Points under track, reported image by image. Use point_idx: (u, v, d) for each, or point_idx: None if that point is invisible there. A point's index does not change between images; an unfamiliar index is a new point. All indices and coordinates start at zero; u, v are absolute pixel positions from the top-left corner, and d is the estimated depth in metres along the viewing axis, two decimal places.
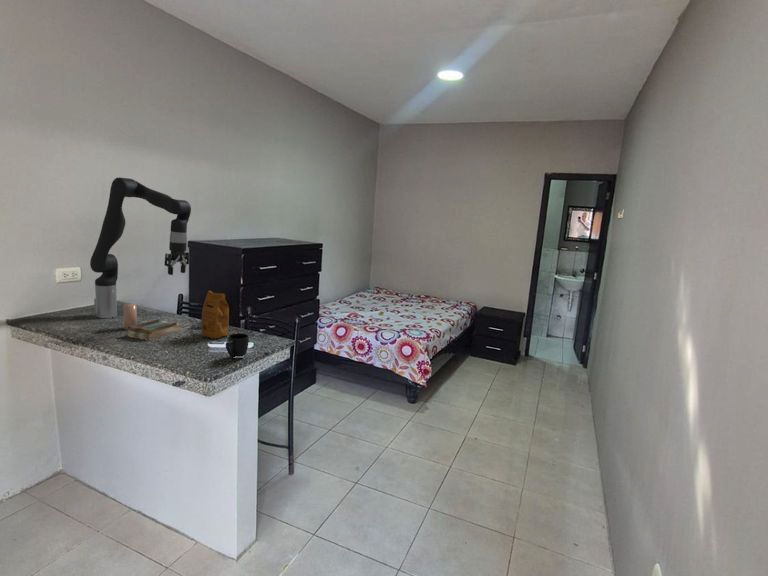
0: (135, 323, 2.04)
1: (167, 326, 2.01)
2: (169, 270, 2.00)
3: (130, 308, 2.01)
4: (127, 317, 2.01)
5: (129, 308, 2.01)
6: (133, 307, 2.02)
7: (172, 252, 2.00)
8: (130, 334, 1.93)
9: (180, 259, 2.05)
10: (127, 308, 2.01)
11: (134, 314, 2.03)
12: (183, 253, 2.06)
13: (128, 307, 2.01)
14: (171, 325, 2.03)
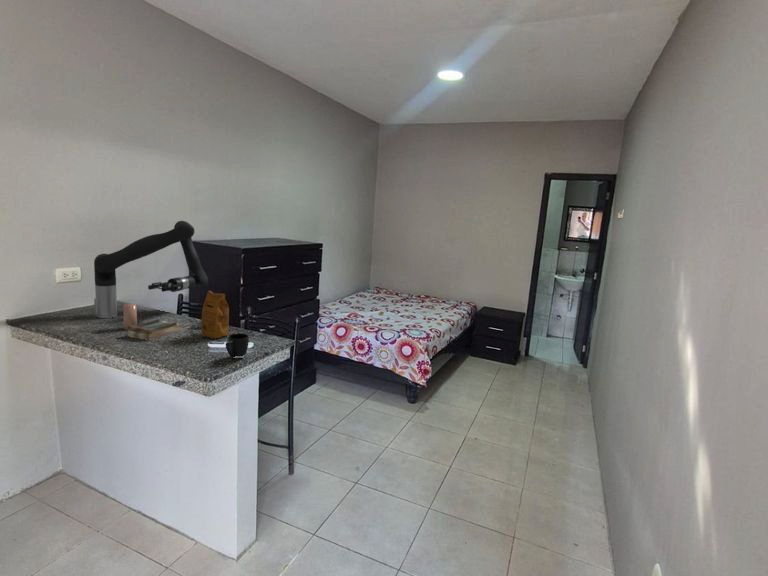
0: (135, 323, 2.04)
1: (167, 326, 2.01)
2: (167, 289, 2.18)
3: (130, 308, 2.01)
4: (127, 317, 2.01)
5: (129, 308, 2.01)
6: (133, 307, 2.02)
7: None
8: (130, 334, 1.93)
9: None
10: (127, 308, 2.01)
11: (134, 314, 2.03)
12: None
13: (128, 307, 2.01)
14: (171, 325, 2.03)
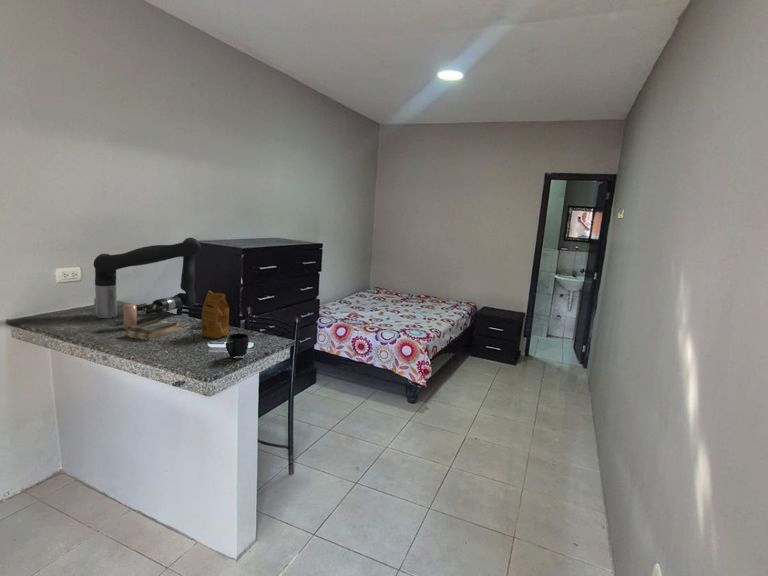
0: (135, 323, 2.04)
1: (167, 326, 2.01)
2: (151, 312, 2.10)
3: (130, 308, 2.01)
4: (127, 317, 2.01)
5: (129, 308, 2.01)
6: (133, 307, 2.02)
7: None
8: (130, 334, 1.93)
9: None
10: (127, 308, 2.01)
11: (134, 314, 2.03)
12: None
13: (128, 307, 2.01)
14: (171, 325, 2.03)
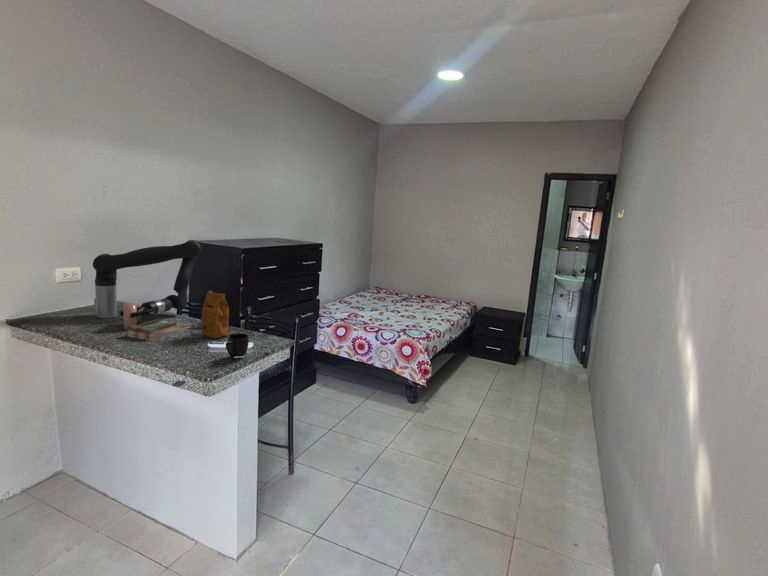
0: (135, 323, 2.04)
1: (167, 326, 2.01)
2: (136, 315, 2.02)
3: (130, 308, 2.01)
4: (127, 317, 2.01)
5: (129, 308, 2.01)
6: (133, 307, 2.02)
7: None
8: (130, 334, 1.93)
9: None
10: (127, 308, 2.01)
11: None
12: None
13: (128, 307, 2.01)
14: (171, 325, 2.03)
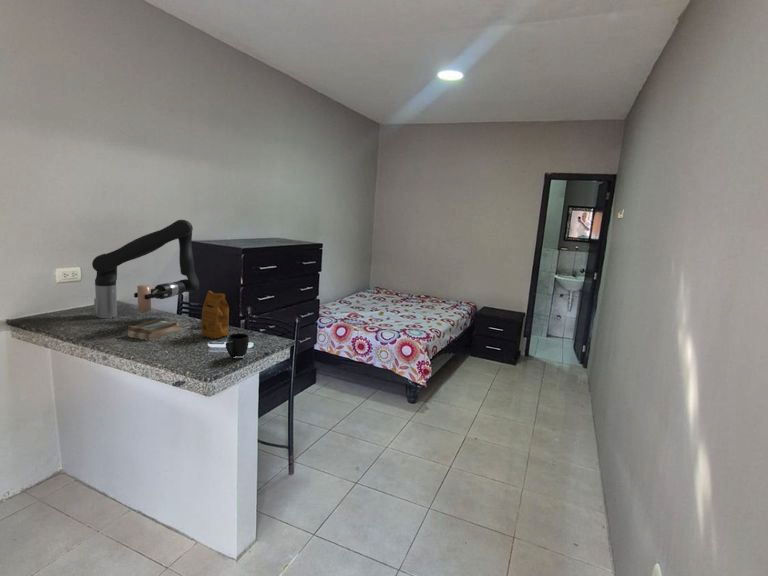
0: (149, 305, 2.01)
1: (167, 326, 2.01)
2: (150, 297, 1.99)
3: (144, 289, 1.98)
4: (141, 298, 1.98)
5: (143, 289, 1.97)
6: (147, 288, 1.98)
7: None
8: (130, 334, 1.93)
9: None
10: (141, 289, 1.97)
11: None
12: None
13: (142, 288, 1.97)
14: (171, 325, 2.03)
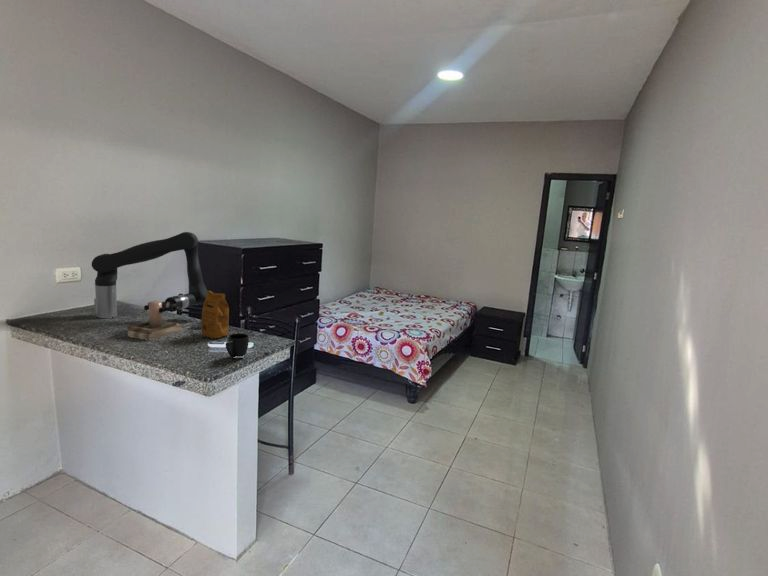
0: (160, 321, 2.00)
1: (167, 326, 2.01)
2: (164, 310, 1.98)
3: (156, 306, 1.97)
4: (153, 314, 1.97)
5: (155, 306, 1.97)
6: (159, 305, 1.98)
7: None
8: (130, 334, 1.93)
9: None
10: (153, 305, 1.96)
11: None
12: None
13: (154, 304, 1.96)
14: (171, 325, 2.03)
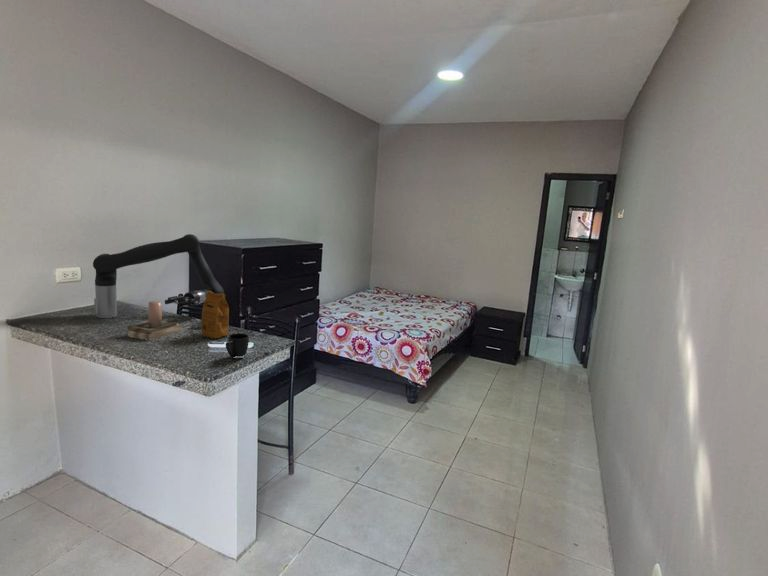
0: (160, 321, 2.00)
1: (167, 326, 2.01)
2: (184, 304, 2.11)
3: (156, 306, 1.97)
4: (153, 314, 1.97)
5: (155, 306, 1.97)
6: (158, 305, 1.98)
7: None
8: (130, 334, 1.93)
9: None
10: (153, 306, 1.96)
11: (159, 312, 1.99)
12: None
13: (154, 305, 1.96)
14: (171, 325, 2.03)
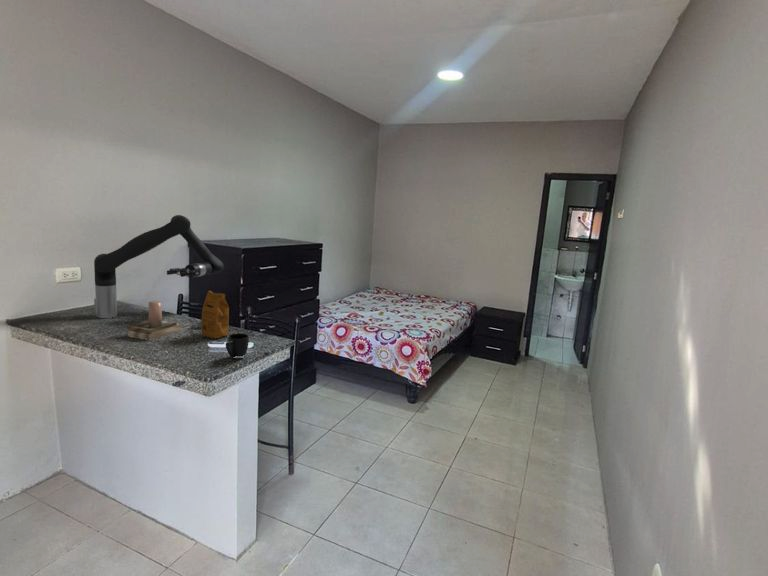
0: (160, 321, 2.00)
1: (167, 326, 2.01)
2: (185, 274, 2.19)
3: (156, 306, 1.97)
4: (153, 314, 1.97)
5: (155, 306, 1.97)
6: (159, 305, 1.98)
7: None
8: (130, 334, 1.93)
9: None
10: (153, 306, 1.96)
11: (159, 312, 1.99)
12: None
13: (154, 305, 1.96)
14: (171, 325, 2.03)
